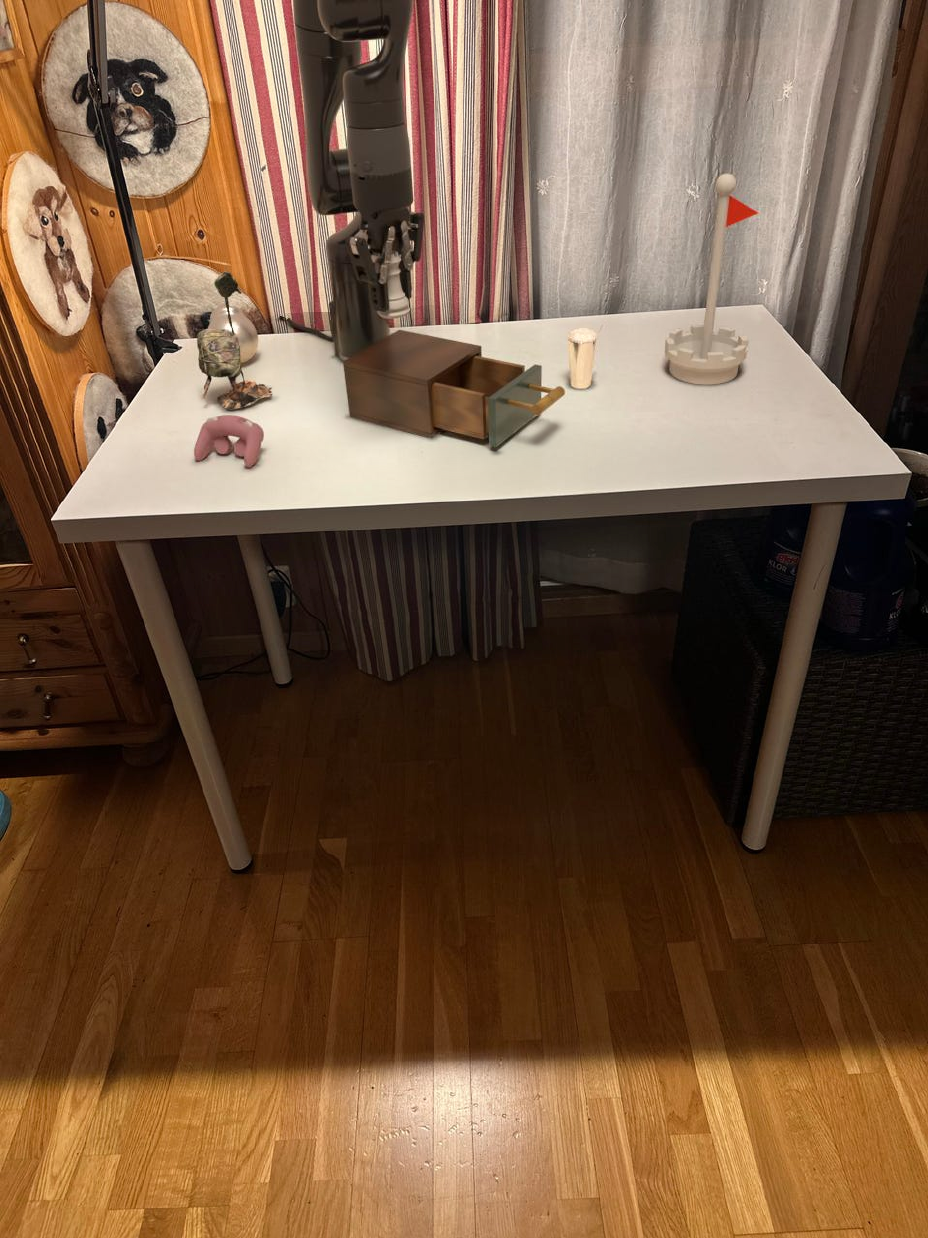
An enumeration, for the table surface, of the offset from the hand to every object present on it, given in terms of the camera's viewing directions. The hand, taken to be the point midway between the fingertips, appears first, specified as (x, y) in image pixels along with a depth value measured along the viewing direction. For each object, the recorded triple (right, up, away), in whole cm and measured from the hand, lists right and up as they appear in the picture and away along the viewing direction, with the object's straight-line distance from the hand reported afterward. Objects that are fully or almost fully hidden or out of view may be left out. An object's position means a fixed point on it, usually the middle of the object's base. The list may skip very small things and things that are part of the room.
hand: (392, 303), depth 123 cm
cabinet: (+2, -9, +23) cm, 25 cm away
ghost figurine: (-31, +4, +42) cm, 52 cm away
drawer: (+14, -12, +16) cm, 25 cm away
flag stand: (+49, -1, +30) cm, 57 cm away
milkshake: (+29, -4, +27) cm, 40 cm away
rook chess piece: (0, -1, +1) cm, 1 cm away
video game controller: (-25, -18, +13) cm, 33 cm away
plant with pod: (-27, -6, +28) cm, 40 cm away
